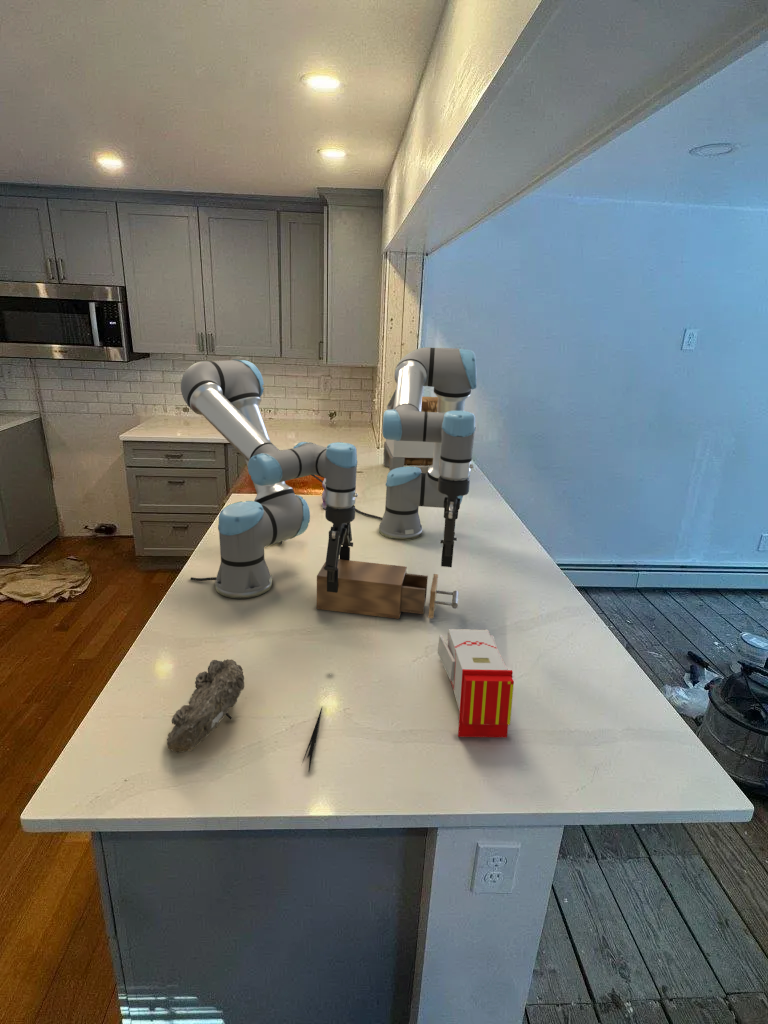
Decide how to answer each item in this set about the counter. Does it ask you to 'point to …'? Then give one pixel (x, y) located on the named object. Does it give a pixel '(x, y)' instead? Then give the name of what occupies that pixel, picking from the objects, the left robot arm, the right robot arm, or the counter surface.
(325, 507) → the figurine
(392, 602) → the cabinet
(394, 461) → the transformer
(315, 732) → the feather
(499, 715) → the toy
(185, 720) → the fossil
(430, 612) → the drawer
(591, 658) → the counter surface
